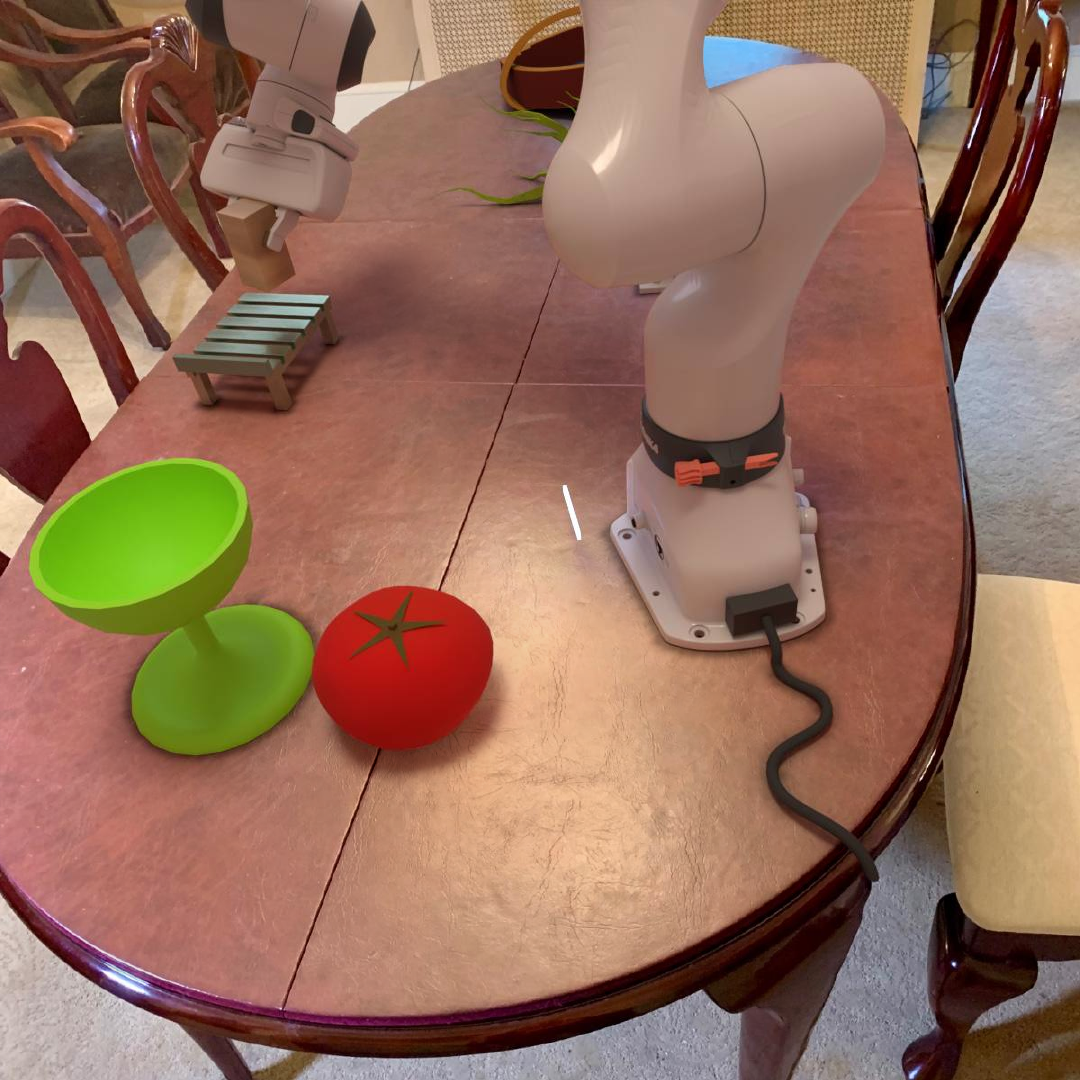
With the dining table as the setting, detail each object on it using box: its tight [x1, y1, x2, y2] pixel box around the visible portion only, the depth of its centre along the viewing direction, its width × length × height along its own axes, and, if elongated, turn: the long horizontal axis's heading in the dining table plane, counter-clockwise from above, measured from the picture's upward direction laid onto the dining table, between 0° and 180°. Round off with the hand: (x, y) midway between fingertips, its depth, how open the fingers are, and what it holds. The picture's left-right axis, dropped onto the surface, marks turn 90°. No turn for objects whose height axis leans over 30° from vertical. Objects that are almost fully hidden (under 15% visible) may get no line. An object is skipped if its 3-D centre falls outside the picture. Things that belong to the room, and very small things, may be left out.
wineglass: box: [28, 457, 315, 756], centre depth 76 cm, size 16×16×18 cm
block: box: [216, 197, 297, 293], centre depth 108 cm, size 4×4×9 cm
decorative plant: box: [430, 91, 580, 205], centre depth 138 cm, size 18×30×15 cm, turn 61°
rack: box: [171, 292, 340, 411], centre depth 113 cm, size 17×12×8 cm
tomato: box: [311, 585, 495, 752], centre depth 74 cm, size 14×13×10 cm
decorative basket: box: [499, 5, 585, 111], centre depth 166 cm, size 34×29×15 cm
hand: (253, 244), depth 108 cm, fingers closed on block, 4 cm apart
